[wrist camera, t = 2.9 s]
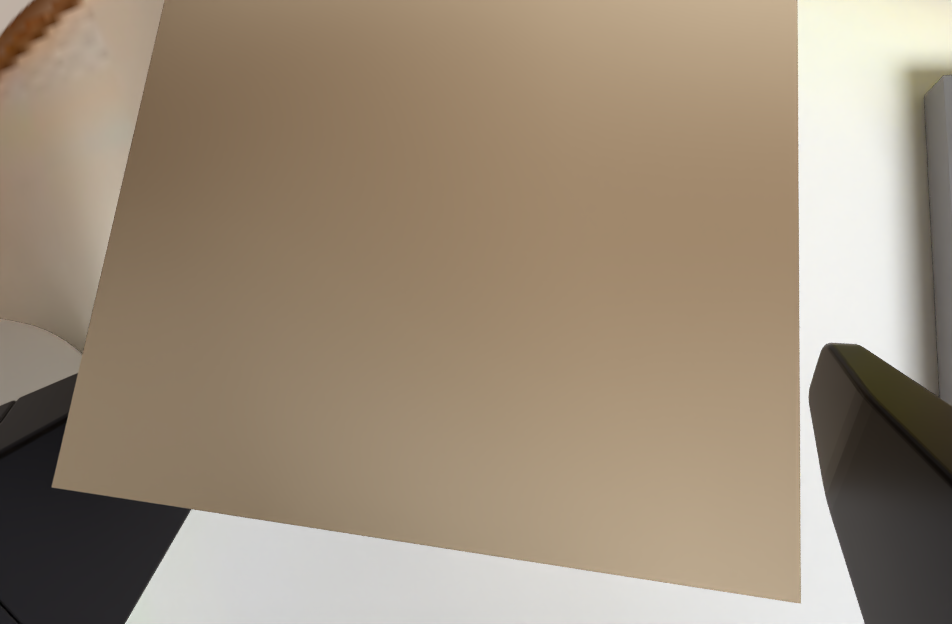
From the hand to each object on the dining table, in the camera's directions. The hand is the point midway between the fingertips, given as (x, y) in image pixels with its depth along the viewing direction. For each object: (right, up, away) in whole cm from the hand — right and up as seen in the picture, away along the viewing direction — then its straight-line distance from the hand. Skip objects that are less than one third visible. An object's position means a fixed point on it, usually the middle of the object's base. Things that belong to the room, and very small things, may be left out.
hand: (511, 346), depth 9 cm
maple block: (+2, -1, +8) cm, 9 cm away
